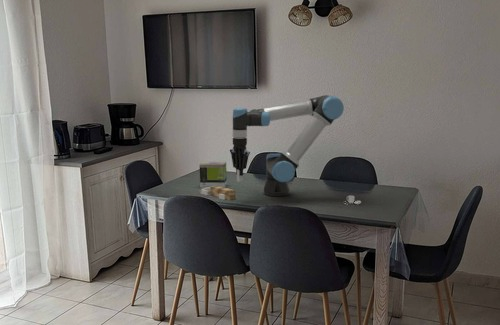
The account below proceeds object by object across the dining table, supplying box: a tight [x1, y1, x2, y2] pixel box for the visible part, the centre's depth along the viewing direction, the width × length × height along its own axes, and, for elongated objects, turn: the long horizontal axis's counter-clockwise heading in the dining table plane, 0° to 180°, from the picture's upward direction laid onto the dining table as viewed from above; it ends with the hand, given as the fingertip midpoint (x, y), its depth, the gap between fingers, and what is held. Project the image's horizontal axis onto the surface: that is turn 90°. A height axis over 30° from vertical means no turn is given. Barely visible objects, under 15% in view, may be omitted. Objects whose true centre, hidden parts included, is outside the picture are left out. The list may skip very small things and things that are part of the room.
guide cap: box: [218, 194, 226, 201], centre depth 273 cm, size 4×8×2 cm, turn 137°
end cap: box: [199, 187, 211, 196], centre depth 283 cm, size 6×8×2 cm
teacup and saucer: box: [344, 195, 362, 205], centre depth 261 cm, size 9×8×4 cm
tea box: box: [199, 161, 228, 189], centre depth 298 cm, size 15×10×15 cm, turn 84°
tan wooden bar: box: [210, 186, 236, 201], centre depth 275 cm, size 16×4×5 cm, turn 46°
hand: (239, 181), depth 264 cm, fingers closed
